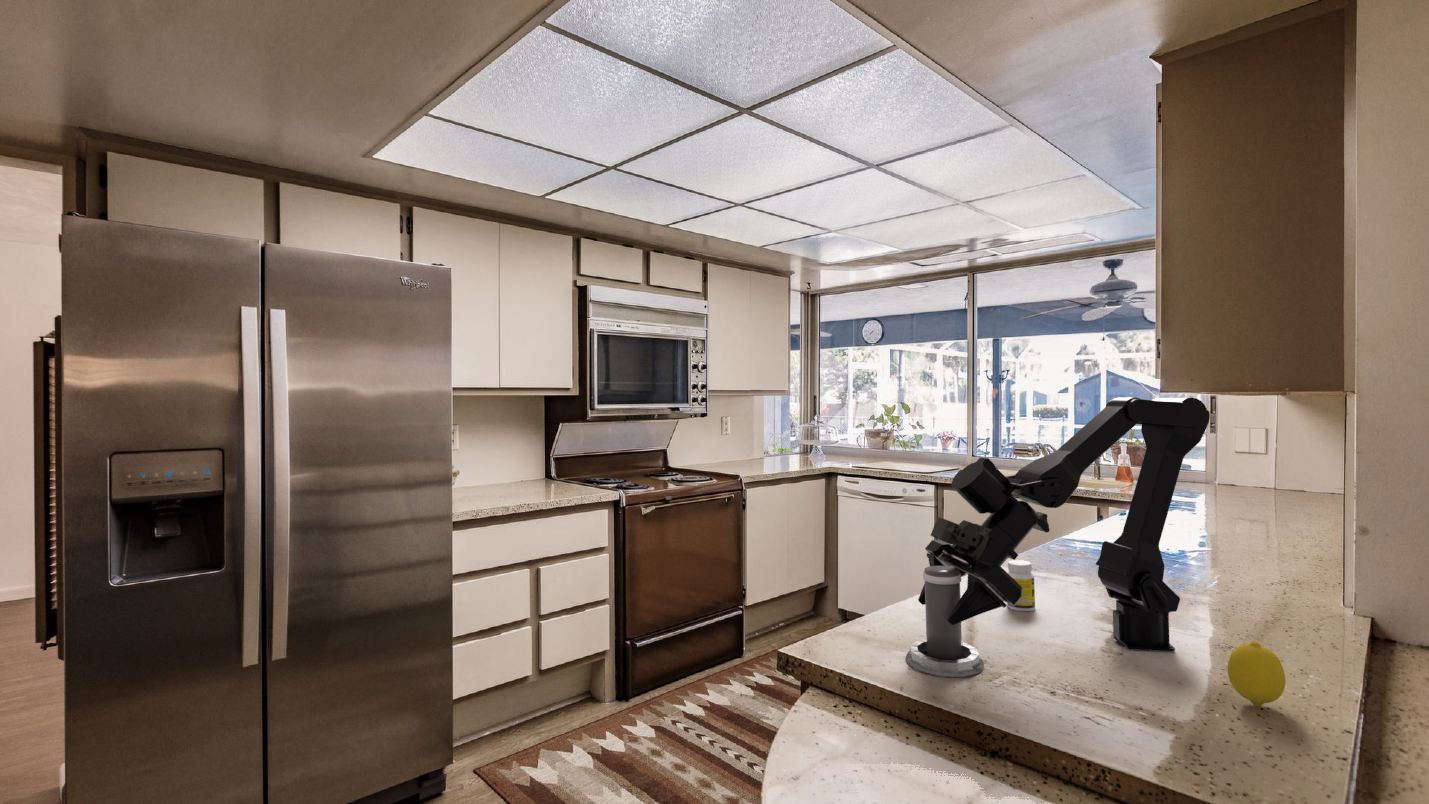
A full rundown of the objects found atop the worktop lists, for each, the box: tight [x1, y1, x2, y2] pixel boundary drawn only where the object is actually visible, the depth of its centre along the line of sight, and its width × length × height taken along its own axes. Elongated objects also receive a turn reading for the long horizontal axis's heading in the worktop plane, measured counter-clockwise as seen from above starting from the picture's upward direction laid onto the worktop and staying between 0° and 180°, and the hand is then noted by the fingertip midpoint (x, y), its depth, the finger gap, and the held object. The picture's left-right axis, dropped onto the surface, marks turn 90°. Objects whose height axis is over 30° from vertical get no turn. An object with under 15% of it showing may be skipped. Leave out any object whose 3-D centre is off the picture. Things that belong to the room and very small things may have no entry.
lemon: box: [1227, 641, 1286, 707], centre depth 82 cm, size 6×6×8 cm
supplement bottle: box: [1006, 559, 1036, 612], centre depth 121 cm, size 5×5×8 cm
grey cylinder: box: [922, 565, 963, 660], centre depth 98 cm, size 5×5×14 cm
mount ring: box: [905, 638, 985, 679], centre depth 98 cm, size 11×11×2 cm
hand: (934, 612), depth 98 cm, fingers open, 9 cm apart
